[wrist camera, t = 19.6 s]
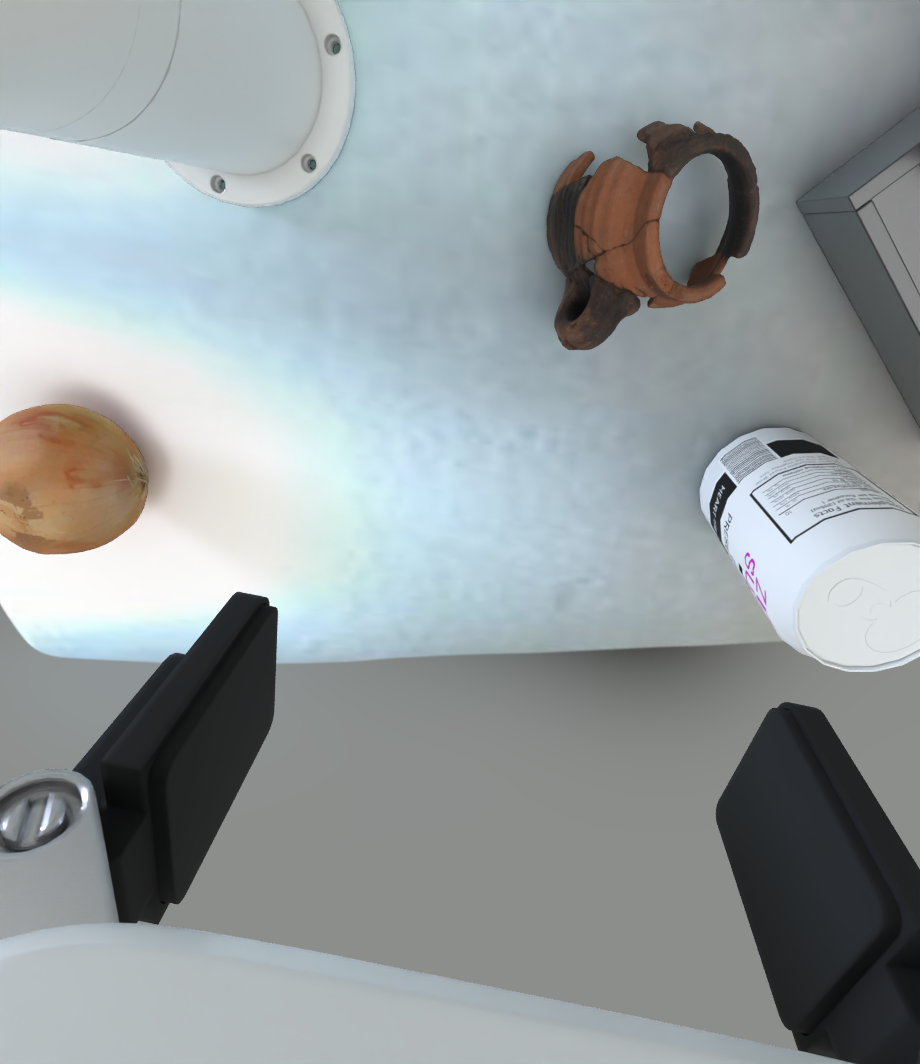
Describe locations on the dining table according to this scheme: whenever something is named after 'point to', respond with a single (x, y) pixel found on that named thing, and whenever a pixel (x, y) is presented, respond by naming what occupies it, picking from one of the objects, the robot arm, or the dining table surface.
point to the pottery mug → (638, 231)
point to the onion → (67, 479)
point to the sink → (878, 245)
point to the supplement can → (819, 548)
